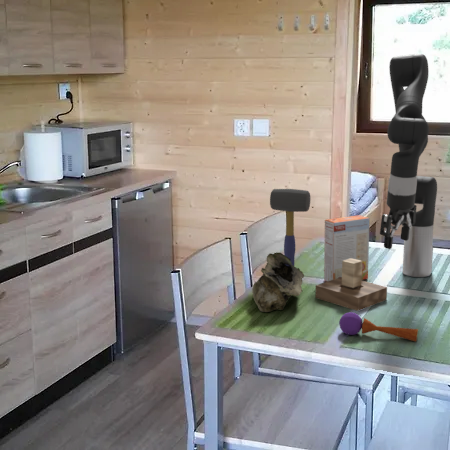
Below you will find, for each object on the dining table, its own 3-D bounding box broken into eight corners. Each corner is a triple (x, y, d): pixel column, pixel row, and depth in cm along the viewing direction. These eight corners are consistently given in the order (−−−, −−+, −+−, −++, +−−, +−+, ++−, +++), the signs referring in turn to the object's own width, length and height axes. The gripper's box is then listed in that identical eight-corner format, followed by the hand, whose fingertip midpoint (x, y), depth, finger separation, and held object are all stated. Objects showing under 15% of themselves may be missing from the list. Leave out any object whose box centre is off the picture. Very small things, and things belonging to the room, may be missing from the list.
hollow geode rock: (285, 300, 226) (254, 265, 227) (314, 275, 222) (282, 240, 223) (263, 328, 200) (228, 288, 201) (295, 301, 196) (260, 261, 197)
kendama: (417, 331, 176) (338, 317, 182) (414, 351, 178) (336, 337, 184) (419, 319, 181) (342, 306, 187) (416, 339, 183) (340, 325, 189)
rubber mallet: (268, 278, 233) (268, 189, 226) (274, 272, 240) (275, 186, 233) (304, 282, 229) (306, 191, 222) (310, 275, 236) (311, 188, 229)
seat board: (344, 288, 223) (344, 275, 222) (386, 299, 211) (387, 287, 210) (315, 297, 213) (315, 285, 213) (357, 310, 202) (358, 297, 201)
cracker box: (357, 274, 236) (359, 214, 232) (368, 279, 231) (371, 217, 226) (322, 280, 231) (324, 218, 226) (333, 285, 225) (334, 222, 221)
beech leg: (349, 295, 215) (350, 258, 213) (361, 299, 212) (362, 260, 209) (340, 299, 212) (342, 260, 210) (352, 302, 209) (353, 263, 207)
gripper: (404, 181, 200) (398, 233, 206) (375, 192, 190) (370, 247, 196) (427, 187, 195) (421, 240, 201) (399, 199, 185) (393, 255, 191)
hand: (396, 243), depth 199 cm, fingers open, 8 cm apart
